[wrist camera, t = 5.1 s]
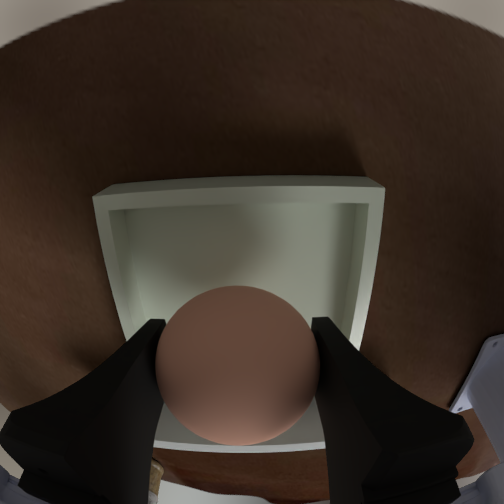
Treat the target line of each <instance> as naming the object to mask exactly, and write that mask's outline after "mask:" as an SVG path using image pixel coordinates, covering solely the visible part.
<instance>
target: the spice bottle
mask: <svg viewBox="0 0 504 504" xmlns="http://www.w3.org/2000/svg"><path fill="white" fill-rule="evenodd" d="M163 472H164V471H163V468H162V466H161V465H160V464H159V463H158V462H157V461H155V460H153V459H152V461H151V470H150V481H149V497H148V504H157V502H158V491H159V486H160V480H161V476H162V475H163Z"/></svg>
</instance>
